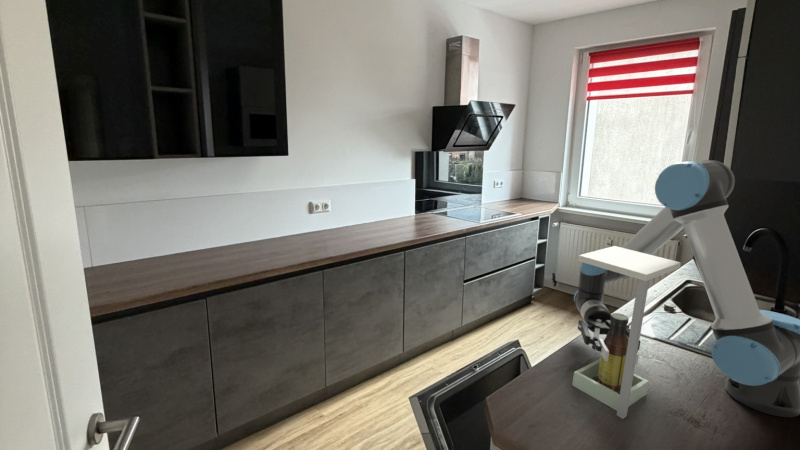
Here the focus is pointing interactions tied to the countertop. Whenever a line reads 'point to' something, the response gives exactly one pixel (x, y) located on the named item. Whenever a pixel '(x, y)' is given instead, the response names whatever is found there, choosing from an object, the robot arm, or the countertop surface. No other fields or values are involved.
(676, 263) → the c-shaped side table
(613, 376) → the sauce bottle
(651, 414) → the countertop surface
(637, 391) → the frame
